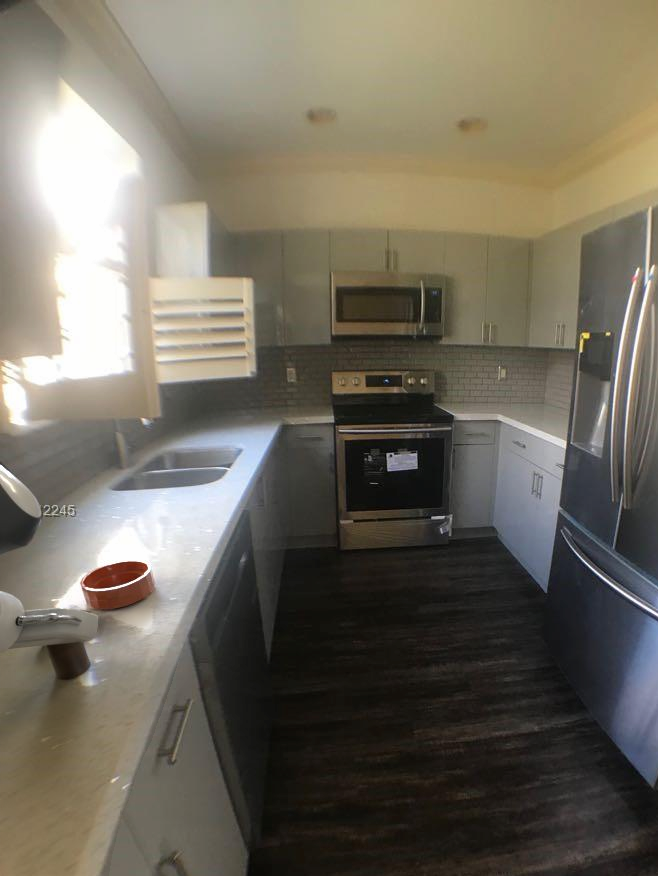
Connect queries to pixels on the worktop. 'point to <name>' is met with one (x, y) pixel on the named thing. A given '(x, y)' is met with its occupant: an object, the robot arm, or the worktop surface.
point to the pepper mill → (68, 659)
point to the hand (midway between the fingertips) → (45, 640)
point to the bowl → (118, 584)
